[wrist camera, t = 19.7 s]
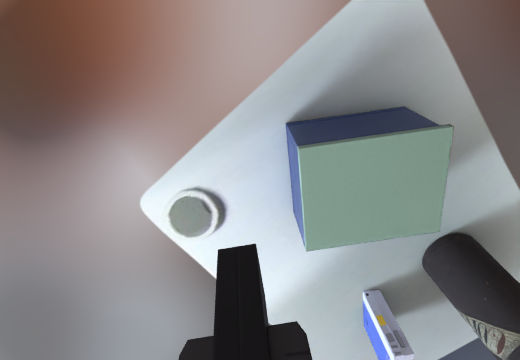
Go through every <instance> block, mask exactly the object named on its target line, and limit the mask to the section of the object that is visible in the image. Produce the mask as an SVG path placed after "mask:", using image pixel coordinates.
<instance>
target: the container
mask: <svg viewBox="0 0 520 360" xmlns="http://www.w3.org/2000/svg"><path fill="white" fill-rule="evenodd" d="M423 267H424V269H425V271H426V272H427V273H428V275H429V276H430V277H431V278H432V280H433V281H434V282H435V283H436V285H437V286H438V287H439V288H440V289H441V291H442V292H443V293H444V294H445V296H446V297H447V298H448V299H449V301H450V302H451V303H452V304H453V306H454V307H455V308H456V309H457V311H458V312H459V313H460V314H461V316H462V317H463V318H464V319H465V321H466V322H467V323H468V324H469V326H470V327H471V328H472V329H473V331H474V332H475V333H476V334H477V335H478V337H479V338H480V339H481V340H482V342H483V343H484V344H485V345H486V347H487V348H488V349H489V350H490V352H491V353H492V354H493V356H494V357H495V358H496V360H520V283H519V282H518V281H517V280H515V279H514V278H513V277H512V276H511V275H510V274H509V273H508V272H507V271H506V270H505V269H504V268H503V267H502V266H501V265H500V264H499V263H498V262H497V261H496V260H495V259H494V258H493V257H492V256H491V255H490V254H489V253H488V252H487V251H486V250H485V249H484V248H483V247H482V246H481V245H480V244H479V243H478V242H477V241H476V240H475V239H473V238H472V237H471V236H469V235H467V234H461V233H456V234H450V235H447V236H444V237H442V238H440V239H439V240H437V241H436V242H434V243H433V244H432V245H431V246H430V247H429V248H428V249H427V251H426V253H425V254H424V257H423Z"/></svg>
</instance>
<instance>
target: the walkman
mask: <svg viewBox="0 0 520 360" xmlns="http://www.w3.org/2000/svg"><path fill="white" fill-rule="evenodd" d="M363 308H364V327H365V329H366V331H367V333H368V336H369V338H370V340H371V343H372V345H373V347H374V350H375V352H376V354H377V357H378V359H379V360H414V353H413V351H412V349H411V347H410V345H409V343H408V342H407V340H406V338H405V336H404V334H403V332H402V330H401V329H400V327H399V325H398V323H397V321H396V319H395V318H394V316H393V314H392V312H391V310H390V308H389V306H388V305H387V303H386V301H385V299H384V297H383V295H382V294H381V292H380V290H374V291H371V290H369V291H363Z"/></svg>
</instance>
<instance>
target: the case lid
mask: <svg viewBox="0 0 520 360" xmlns="http://www.w3.org/2000/svg"><path fill="white" fill-rule="evenodd" d="M453 128H454V126H452V125H450V124H448V125H441V126H434V127H427V128H420V129H413V130H406V131H399V132H392V133H385V134H378V135H371V136H364V137H357V138H350V139H343V140H336V141H329V142H322V143H315V144H308V145H301V146H297V150H298V163H299V176H300V189H301V202H302V215H303V228H304V241H305V249H306V251H313V250H320V249H327V248H333V247H340V246H347V245H353V244H360V243H367V242H373V241H380V240H387V239H393V238H400V237H407V236H413V235H420V234H427V233H433V232H439V230H440V223H441V215H442V208H443V201H444V193H445V186H446V179H447V171H448V164H449V157H450V150H451V142H452V135H453Z"/></svg>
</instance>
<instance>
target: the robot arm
mask: <svg viewBox="0 0 520 360" xmlns="http://www.w3.org/2000/svg"><path fill="white" fill-rule="evenodd" d="M179 360H312V356H311V353H310V348H309V343H308V339H307V335H306V333H305V332H304V330H303V329H302V328H301V326H300V325H299V324H298V323H297V321H296V322H290V323H283V324H277V325H271V326H268V318H267V310H266V301H265V294H264V288H263V282H262V277H261V271H260V265H259V259H258V254H257V248H256V244H251V245H245V246H238V247H232V248H226V249H219V250H218V260H217V280H216V299H215V319H214V336H209V337H203V338H196V339H191V340H188V341H187V342H186V344H185V346H184V348H183V350H182V352H181V354H180V355H179Z"/></svg>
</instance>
